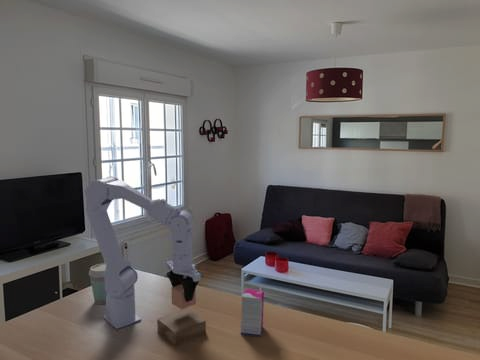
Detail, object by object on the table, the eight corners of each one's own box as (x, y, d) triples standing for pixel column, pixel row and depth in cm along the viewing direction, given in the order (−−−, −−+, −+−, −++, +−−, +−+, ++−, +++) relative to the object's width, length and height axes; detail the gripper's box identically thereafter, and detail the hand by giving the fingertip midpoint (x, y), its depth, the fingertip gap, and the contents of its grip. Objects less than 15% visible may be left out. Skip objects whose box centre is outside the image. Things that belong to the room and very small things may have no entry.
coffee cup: (106, 293, 136) (105, 261, 134) (122, 299, 131) (120, 266, 129) (85, 302, 129) (83, 268, 127) (100, 309, 124) (98, 273, 122)
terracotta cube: (171, 303, 113) (171, 287, 112) (185, 298, 116) (185, 282, 115) (181, 309, 109) (181, 292, 108) (195, 303, 113) (195, 287, 112)
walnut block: (157, 331, 111) (157, 318, 110) (186, 320, 117) (186, 308, 117) (175, 346, 103) (175, 332, 103) (205, 333, 110) (205, 320, 109)
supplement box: (261, 337, 108) (261, 298, 106) (240, 334, 109) (240, 296, 107) (263, 326, 113) (264, 289, 112) (244, 324, 114) (244, 288, 113)
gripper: (209, 256, 108) (209, 301, 110) (179, 244, 118) (180, 286, 120) (188, 261, 103) (189, 309, 105) (160, 249, 114) (161, 292, 115)
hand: (183, 297), depth 112 cm, fingers closed on terracotta cube, 5 cm apart
